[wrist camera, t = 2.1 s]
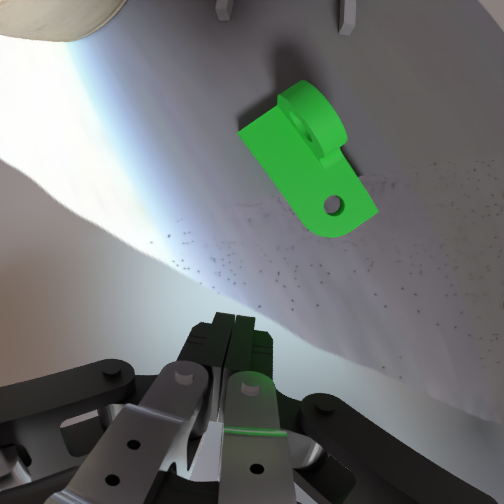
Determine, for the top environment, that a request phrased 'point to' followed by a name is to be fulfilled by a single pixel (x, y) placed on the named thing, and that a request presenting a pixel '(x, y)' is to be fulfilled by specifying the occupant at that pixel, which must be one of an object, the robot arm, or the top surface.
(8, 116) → the top surface
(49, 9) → the jug
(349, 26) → the low bench
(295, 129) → the mechanical part
